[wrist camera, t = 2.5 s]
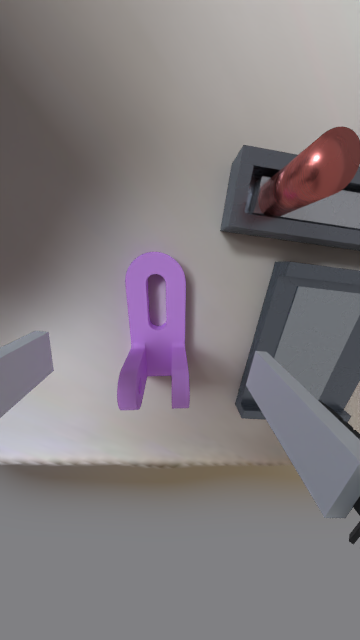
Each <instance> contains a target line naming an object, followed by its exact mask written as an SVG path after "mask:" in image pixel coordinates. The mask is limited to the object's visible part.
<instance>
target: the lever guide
mask: <svg viewBox="0 0 360 640" xmlns="http://www.w3.org/2000/svg"><path fill="white" fill-rule="evenodd" d="M297 156H298V155H295V154H290V153H285V152H279V151H274V150H269V149H263V148H258V147H253V146H247V145H243V147H242V148H241V150H240V152H239V153H238V155H237V157H236V158H235V160H234V161H233V163H232V167H231V173H230V178H229V184H228V190H227V195H226V201H225V207H224V213H223V218H222V224H221V230H220V231H225V232H232V233H239V234H246V235H253V236H260V237H267V238H274V239H281V240H288V241H295V242H302V243H309V244H316V245H323V246H330V247H337V248H345V249H352V250H359V251H360V231H358V230H351V229H345V228H338V227H332V226H325V225H319V224H312V223H306V222H299V221H293V220H286V219H279V218H273V217H266V216H260V215H253V214H249V211H250V207H251V202H252V198H253V193H254V188H255V184H256V181H258V180H259V179H260V178H261V177H262V176H264V177H270V178H271V177H273V176H274V175H275V174H276V173H277V172H279V171H280V170H281V169H282V168H283V167H285V166H286V165H287V164H288V163H289V162H291V161H292V160H293V159H294V158H295V157H297ZM343 190H345V191H351V192H356V193H360V167H358V170H357V172H356V174H355V176H354V178H353V179H352V180H351V182H350V183H349V184H348V185H347V186H346V187H345V188H344V189H343Z"/></svg>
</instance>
